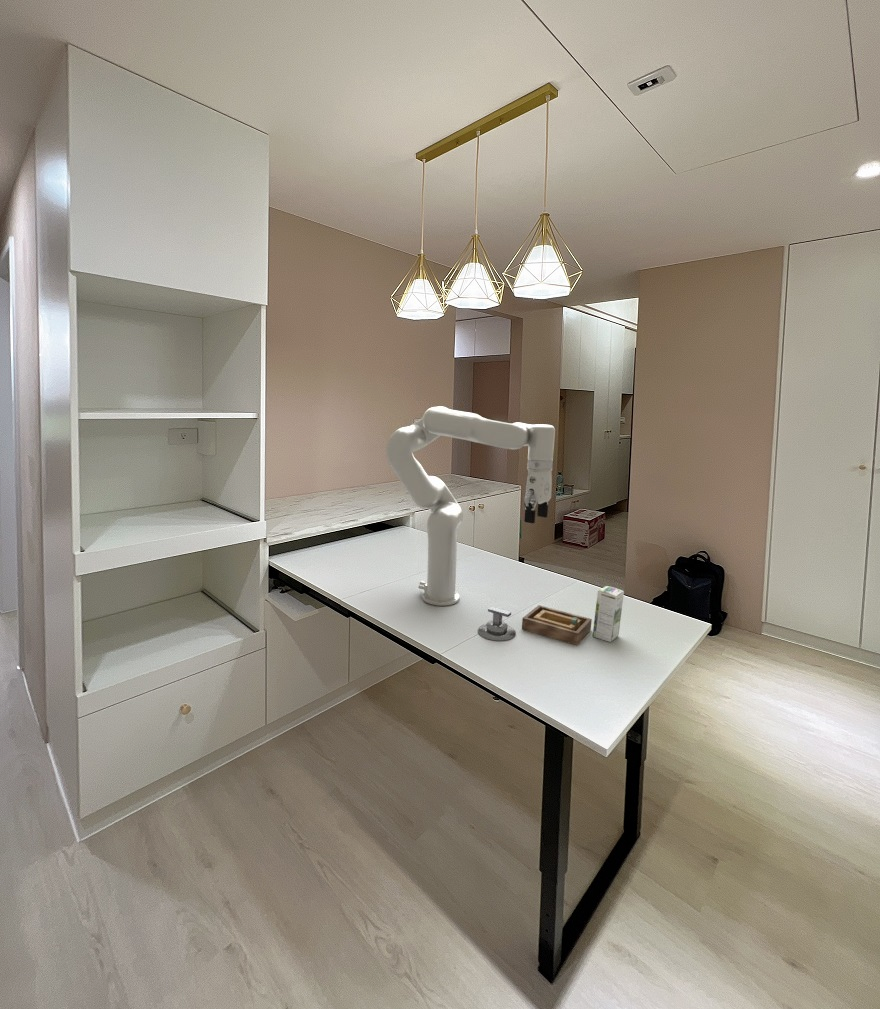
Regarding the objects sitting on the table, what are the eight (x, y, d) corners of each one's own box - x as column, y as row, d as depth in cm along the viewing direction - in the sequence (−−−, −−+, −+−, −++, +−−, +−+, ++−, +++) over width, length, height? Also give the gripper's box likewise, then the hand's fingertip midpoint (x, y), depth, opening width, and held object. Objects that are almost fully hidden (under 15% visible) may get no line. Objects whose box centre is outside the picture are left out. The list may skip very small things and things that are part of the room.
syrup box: (600, 630, 160) (604, 584, 157) (619, 636, 157) (624, 590, 154) (592, 636, 156) (596, 590, 153) (611, 643, 152) (616, 595, 149)
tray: (521, 629, 159) (522, 617, 159) (537, 615, 169) (538, 605, 169) (576, 645, 150) (578, 633, 150) (590, 630, 160) (591, 619, 159)
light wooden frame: (571, 637, 153) (572, 623, 153) (532, 626, 160) (533, 612, 159) (579, 629, 159) (581, 615, 158) (542, 618, 166) (543, 605, 165)
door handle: (471, 634, 155) (472, 611, 154) (489, 621, 164) (490, 599, 163) (505, 644, 149) (506, 621, 148) (521, 630, 158) (523, 608, 157)
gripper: (539, 469, 154) (535, 527, 158) (561, 463, 168) (557, 516, 172) (516, 467, 158) (512, 523, 162) (539, 461, 172) (536, 512, 176)
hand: (536, 519), depth 167 cm, fingers open, 9 cm apart
